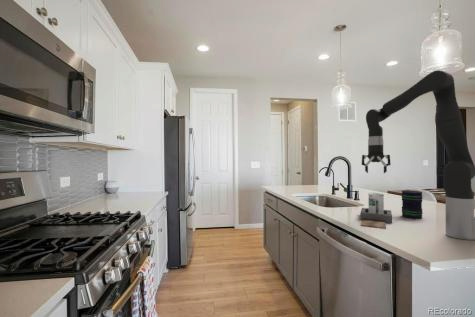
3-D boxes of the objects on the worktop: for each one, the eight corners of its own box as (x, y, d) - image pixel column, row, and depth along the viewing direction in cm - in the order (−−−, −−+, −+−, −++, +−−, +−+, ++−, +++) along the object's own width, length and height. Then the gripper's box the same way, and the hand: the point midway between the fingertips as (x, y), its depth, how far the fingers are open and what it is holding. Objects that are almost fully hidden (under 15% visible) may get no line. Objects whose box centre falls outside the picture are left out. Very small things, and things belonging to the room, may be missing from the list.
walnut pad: (385, 223, 127) (385, 222, 127) (386, 228, 117) (386, 227, 117) (362, 220, 132) (362, 219, 132) (360, 225, 123) (360, 224, 123)
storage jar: (415, 215, 144) (415, 190, 144) (426, 219, 135) (426, 192, 135) (398, 214, 145) (397, 190, 145) (407, 219, 136) (407, 192, 136)
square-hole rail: (391, 217, 140) (390, 210, 140) (392, 223, 127) (392, 215, 127) (362, 214, 147) (362, 207, 147) (360, 219, 135) (360, 212, 135)
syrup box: (367, 218, 139) (367, 192, 139) (374, 216, 141) (374, 192, 141) (377, 220, 133) (377, 194, 133) (384, 219, 136) (384, 193, 136)
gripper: (361, 144, 138) (361, 173, 138) (390, 143, 130) (390, 173, 130) (362, 145, 144) (362, 172, 144) (390, 144, 137) (390, 172, 137)
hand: (375, 172), depth 137 cm, fingers open, 8 cm apart
